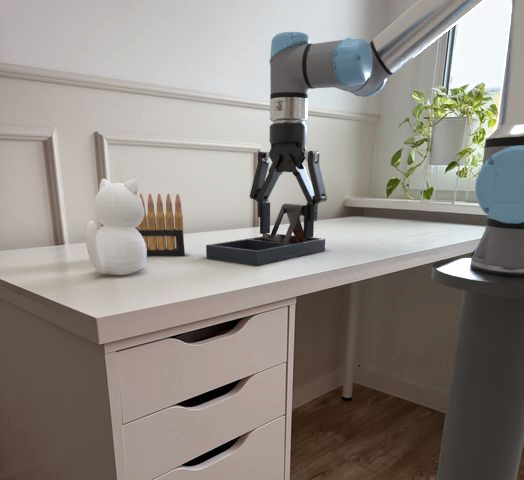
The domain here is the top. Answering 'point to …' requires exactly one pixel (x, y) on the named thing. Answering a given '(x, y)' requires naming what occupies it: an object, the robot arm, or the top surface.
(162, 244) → the ammunition clip
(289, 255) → the divided tray
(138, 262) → the cat figurine
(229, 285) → the top surface
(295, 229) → the tablet stand
